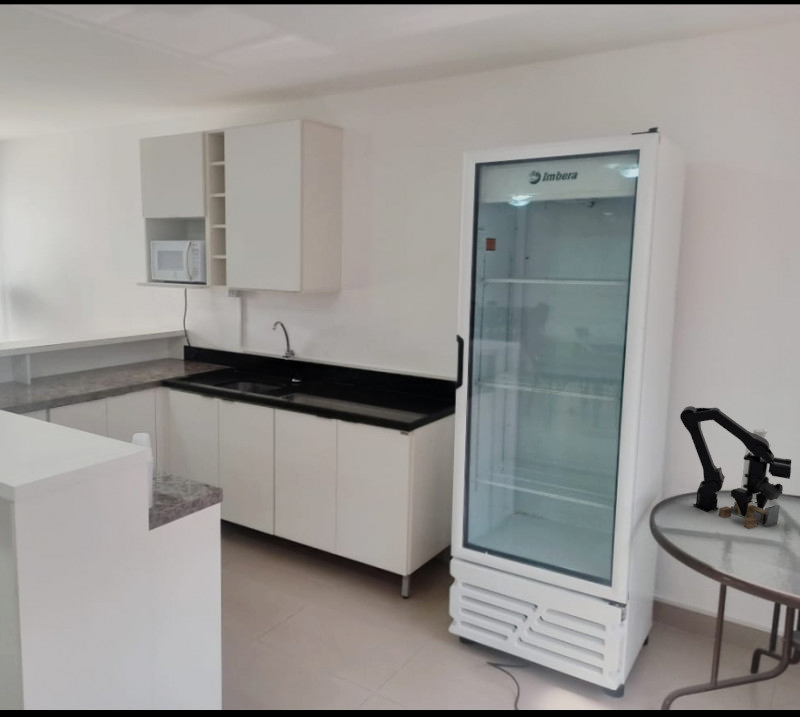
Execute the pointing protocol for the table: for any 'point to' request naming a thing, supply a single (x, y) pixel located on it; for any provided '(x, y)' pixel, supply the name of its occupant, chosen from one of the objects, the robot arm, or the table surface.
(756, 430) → the bottle
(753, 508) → the rail
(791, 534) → the table surface
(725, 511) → the pair of brown blocks
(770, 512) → the bracket
